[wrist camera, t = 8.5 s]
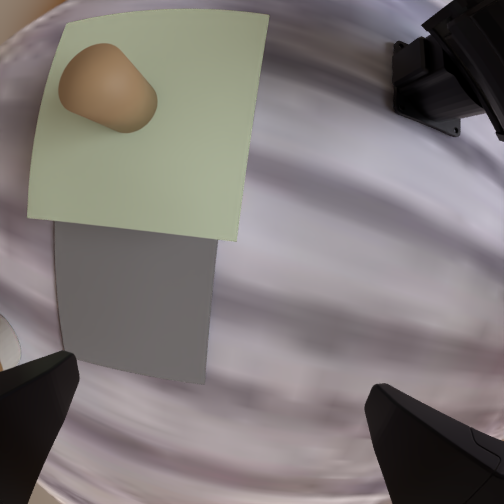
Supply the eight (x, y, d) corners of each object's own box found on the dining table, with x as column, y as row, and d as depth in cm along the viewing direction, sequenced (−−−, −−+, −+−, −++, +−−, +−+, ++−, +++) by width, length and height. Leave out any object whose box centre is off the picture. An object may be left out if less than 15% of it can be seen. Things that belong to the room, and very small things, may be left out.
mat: (219, 225, 18) (219, 226, 18) (204, 381, 21) (204, 384, 20) (58, 208, 17) (55, 209, 17) (67, 353, 20) (65, 355, 20)
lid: (267, 23, 12) (281, -38, 7) (236, 238, 15) (236, 267, 9) (73, 29, 11) (30, -9, 6) (36, 215, 14) (-27, 230, 8)
